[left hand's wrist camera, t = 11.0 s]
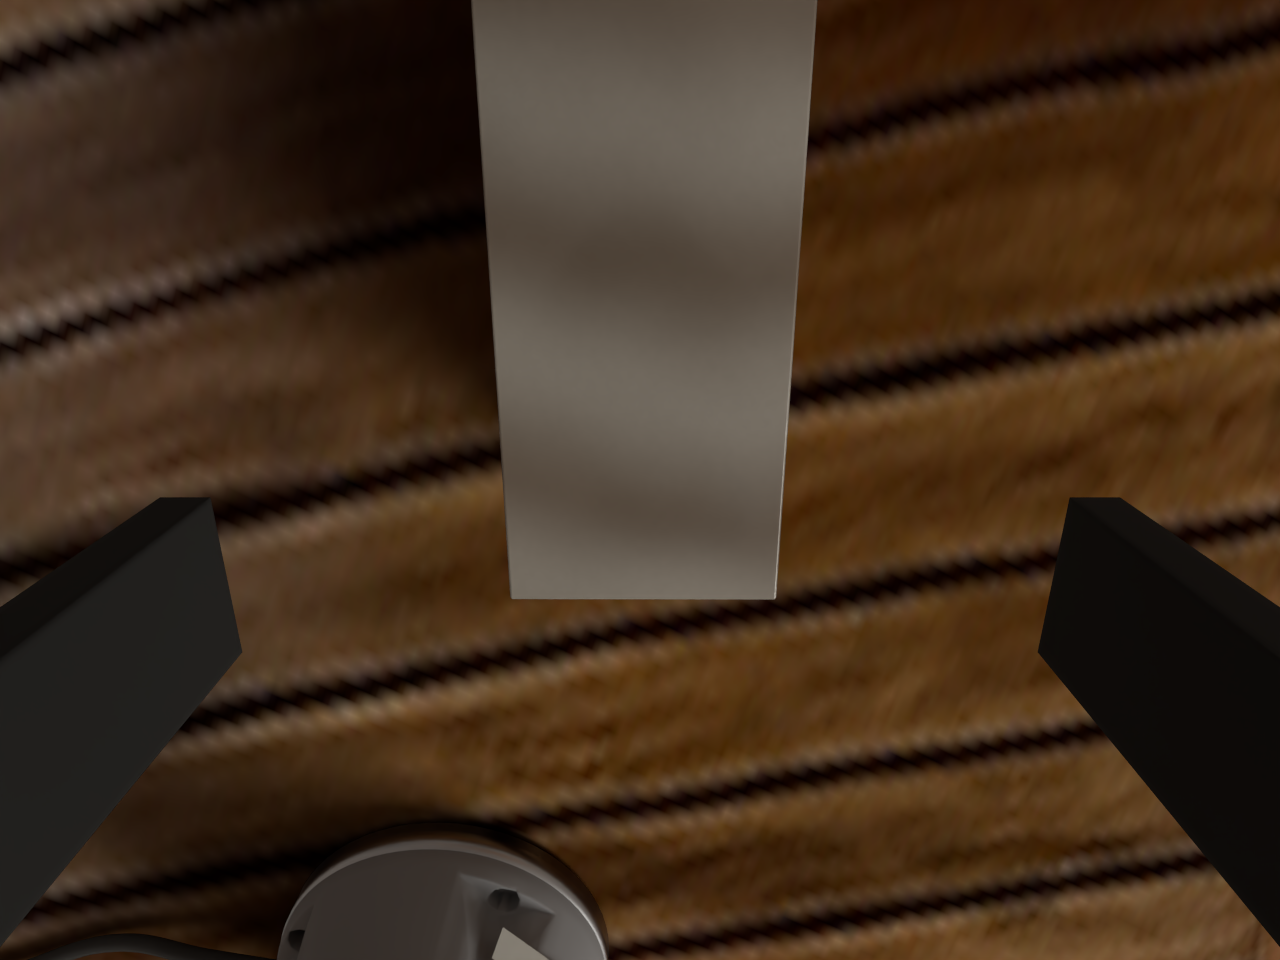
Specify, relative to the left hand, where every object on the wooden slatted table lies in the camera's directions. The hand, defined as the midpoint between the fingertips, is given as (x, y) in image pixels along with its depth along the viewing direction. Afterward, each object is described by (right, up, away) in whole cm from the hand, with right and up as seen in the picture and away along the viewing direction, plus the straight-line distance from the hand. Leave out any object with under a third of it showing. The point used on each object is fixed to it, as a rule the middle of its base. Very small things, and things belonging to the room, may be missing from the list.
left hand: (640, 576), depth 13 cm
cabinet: (0, +10, +15) cm, 18 cm away
